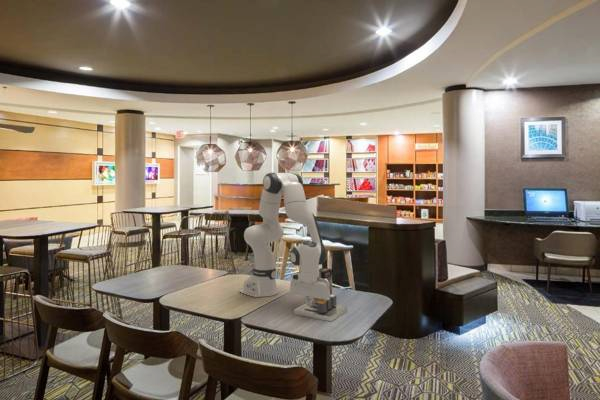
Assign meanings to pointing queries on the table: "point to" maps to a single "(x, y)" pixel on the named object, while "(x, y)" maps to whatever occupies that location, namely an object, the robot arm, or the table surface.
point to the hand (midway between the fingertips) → (309, 305)
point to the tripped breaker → (321, 306)
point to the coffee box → (325, 274)
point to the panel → (312, 312)
